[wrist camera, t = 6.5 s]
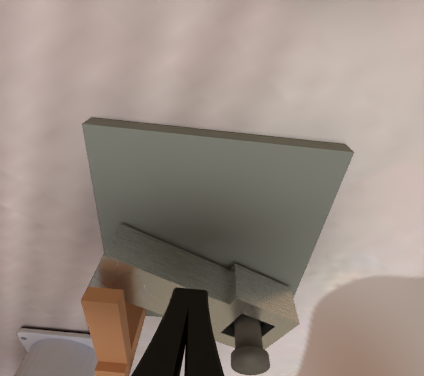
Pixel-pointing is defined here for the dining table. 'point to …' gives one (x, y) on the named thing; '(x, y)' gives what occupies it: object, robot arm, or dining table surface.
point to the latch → (194, 285)
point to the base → (218, 200)
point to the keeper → (112, 329)
